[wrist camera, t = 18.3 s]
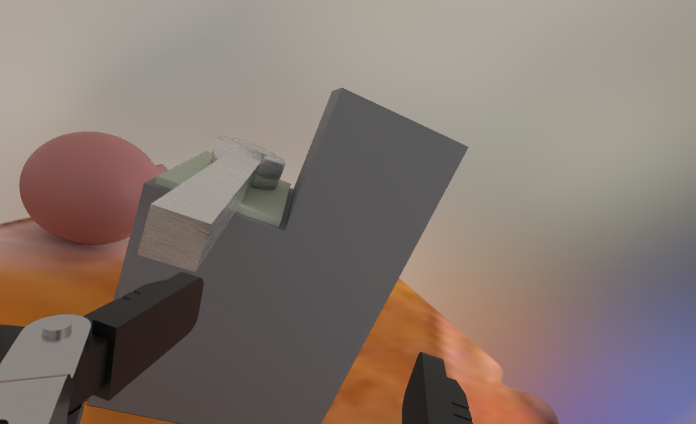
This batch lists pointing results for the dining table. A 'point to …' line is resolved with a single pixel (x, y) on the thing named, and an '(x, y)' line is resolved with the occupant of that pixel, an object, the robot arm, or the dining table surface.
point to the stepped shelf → (293, 273)
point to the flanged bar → (207, 203)
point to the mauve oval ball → (86, 186)
